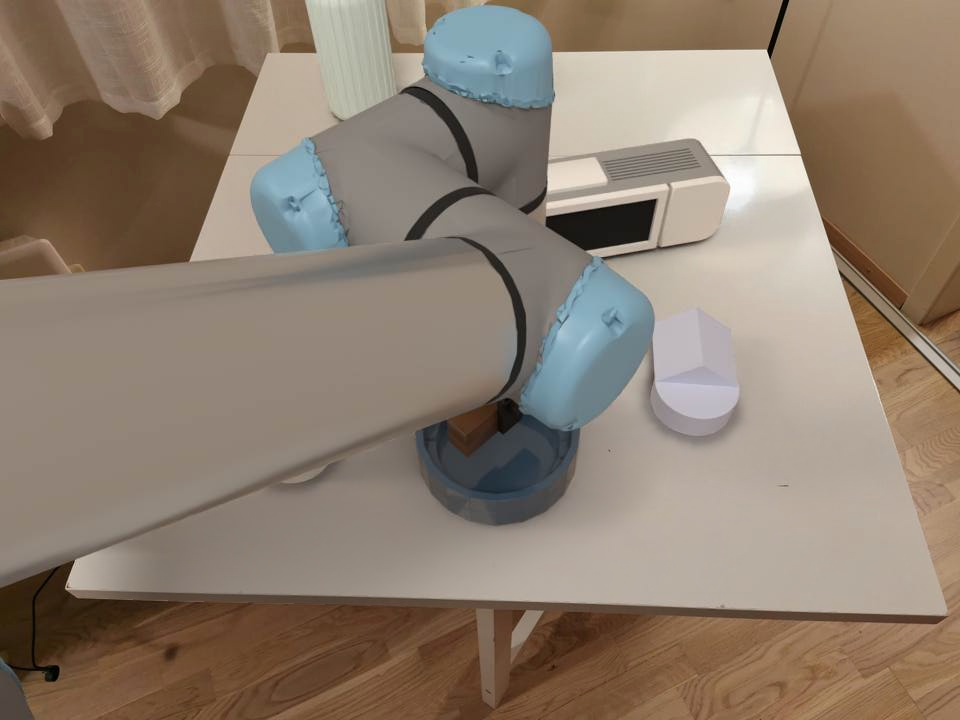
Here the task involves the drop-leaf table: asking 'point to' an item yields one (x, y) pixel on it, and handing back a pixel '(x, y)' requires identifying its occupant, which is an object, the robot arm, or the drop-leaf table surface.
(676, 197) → the alarm clock
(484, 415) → the stick
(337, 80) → the vase
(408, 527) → the drop-leaf table surface
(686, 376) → the wedge on round base
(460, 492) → the bowl
